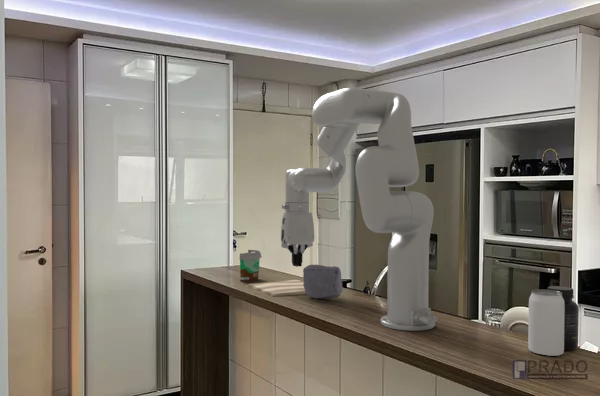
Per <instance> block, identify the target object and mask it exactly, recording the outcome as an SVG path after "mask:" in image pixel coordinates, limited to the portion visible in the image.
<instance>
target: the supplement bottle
mask: <svg viewBox="0 0 600 396" xmlns="http://www.w3.org/2000/svg"><path fill="white" fill-rule="evenodd" d="M547 290H553V291H558V292H561V293H562V297H563V299H564V304H565V312H564V351H573V350H576V349H577V348H578V347H579V326H580V325H579V323H580V322H579V321H580V320H579V316H580V315H579V312H580V310H579V305H578V303H577V302H576V301H574V300H573V299H574V297H575V296H574V288H571V287H567V286H560V285H557V286H556V285H552V286H551V285H550V286H548V287H547Z"/></svg>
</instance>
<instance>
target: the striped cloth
mask: <svg viewBox="0 0 600 396" xmlns="http://www.w3.org/2000/svg"><path fill="white" fill-rule="evenodd" d="M303 284H304V280H299V279H291V280H290V279H289V280H281V281H280V280H279V281H270V282H269V281H268V282H267V281H266V282H259V283H258V282H256V283H248V287H249V288H251V289H253V290H255V291H258V292H261V293H263V294H265V295H268V296H270V297H272V298H273V297H274V298H275V297H283V296H284V297H286V296H288V295H289V296H301V295H307V294H306V292H305V289H304V286H303Z"/></svg>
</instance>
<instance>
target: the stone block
mask: <svg viewBox="0 0 600 396" xmlns="http://www.w3.org/2000/svg"><path fill="white" fill-rule="evenodd" d="M302 271H303V272H302V273H303V275H302V277H303V282H304V284H303V286H304V289H305V292H306V294H305V295H308V296H309V297H311V298H312V299H316V300H317V299H318V300H319V299H322V300H323V299H335V298H339V297H340V296H341V294H342V293H343V278H342V271H341V269H340V268H339V266H335V265H334V266H326V265H322V264H308V265H306V266H305V267H304V268H303V269H302Z"/></svg>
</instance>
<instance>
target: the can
mask: <svg viewBox="0 0 600 396" xmlns="http://www.w3.org/2000/svg"><path fill="white" fill-rule="evenodd" d="M564 312H565V304H564V299H563V297H562V293H561V292H558V291H553V290H548V289H532V290H531V294H530V296H529V298H528V328H527V329H528V333H527V334H528V335H527V337H528V338H527V339H528V340H527V341H528V343H527V347H528V350H529V351H530V353H532V352H533V353H532V354H534V353H537V354H543V355H548V356H547V357H549V356H557V357H560V355H561V356H562V355H563V354H564V353H565V352H564V351H565V350H564ZM537 354H536V355H537Z"/></svg>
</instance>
